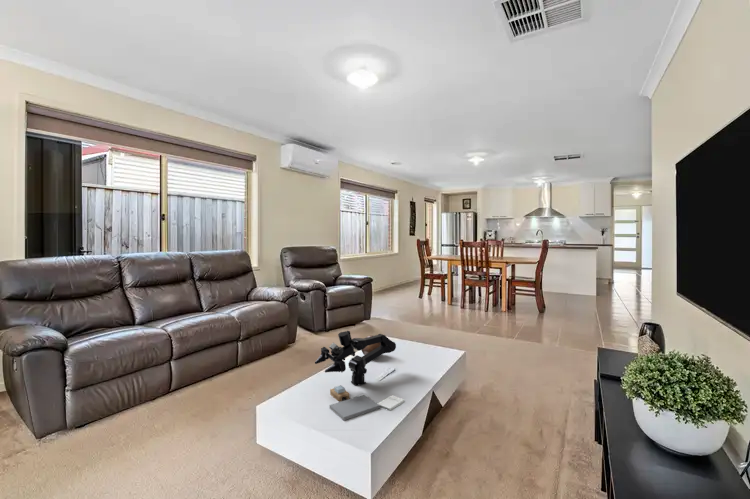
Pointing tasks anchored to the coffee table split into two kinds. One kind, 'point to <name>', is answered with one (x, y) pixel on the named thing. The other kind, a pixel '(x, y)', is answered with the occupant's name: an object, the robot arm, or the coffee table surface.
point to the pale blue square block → (339, 389)
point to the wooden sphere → (370, 347)
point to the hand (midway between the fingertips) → (319, 367)
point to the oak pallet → (339, 395)
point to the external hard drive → (391, 402)
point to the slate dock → (354, 407)
